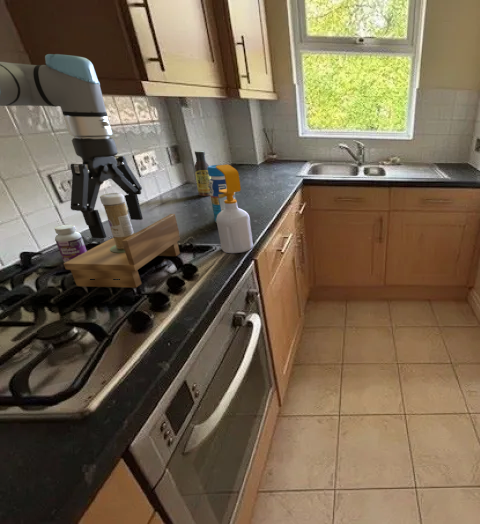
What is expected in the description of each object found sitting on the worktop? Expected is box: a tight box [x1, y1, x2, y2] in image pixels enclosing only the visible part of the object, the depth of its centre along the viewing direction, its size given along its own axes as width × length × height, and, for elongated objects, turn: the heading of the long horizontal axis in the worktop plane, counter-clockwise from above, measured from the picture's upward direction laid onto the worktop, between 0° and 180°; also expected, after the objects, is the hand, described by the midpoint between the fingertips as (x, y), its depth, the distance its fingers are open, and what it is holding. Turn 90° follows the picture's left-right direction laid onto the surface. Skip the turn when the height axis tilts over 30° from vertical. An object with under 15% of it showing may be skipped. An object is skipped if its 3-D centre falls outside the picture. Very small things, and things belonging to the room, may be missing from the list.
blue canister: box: [207, 164, 236, 224], centre depth 119 cm, size 8×8×20 cm
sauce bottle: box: [194, 150, 211, 197], centre depth 152 cm, size 6×6×20 cm
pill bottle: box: [54, 224, 88, 263], centre depth 88 cm, size 5×5×10 cm
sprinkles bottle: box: [99, 192, 135, 249], centre depth 82 cm, size 5×5×14 cm
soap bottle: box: [216, 164, 254, 254], centre depth 96 cm, size 9×9×25 cm
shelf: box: [63, 213, 181, 289], centre depth 85 cm, size 16×20×12 cm
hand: (119, 227), depth 82 cm, fingers open, 13 cm apart
